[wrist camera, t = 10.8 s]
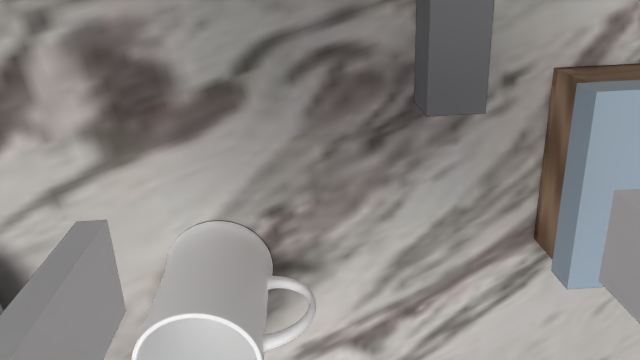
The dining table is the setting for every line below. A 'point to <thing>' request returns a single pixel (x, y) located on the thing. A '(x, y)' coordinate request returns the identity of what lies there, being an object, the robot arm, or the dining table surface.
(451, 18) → the gray rectangular block
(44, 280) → the robot arm
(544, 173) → the carcass
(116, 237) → the dining table surface
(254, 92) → the dining table surface
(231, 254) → the mug
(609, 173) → the door
